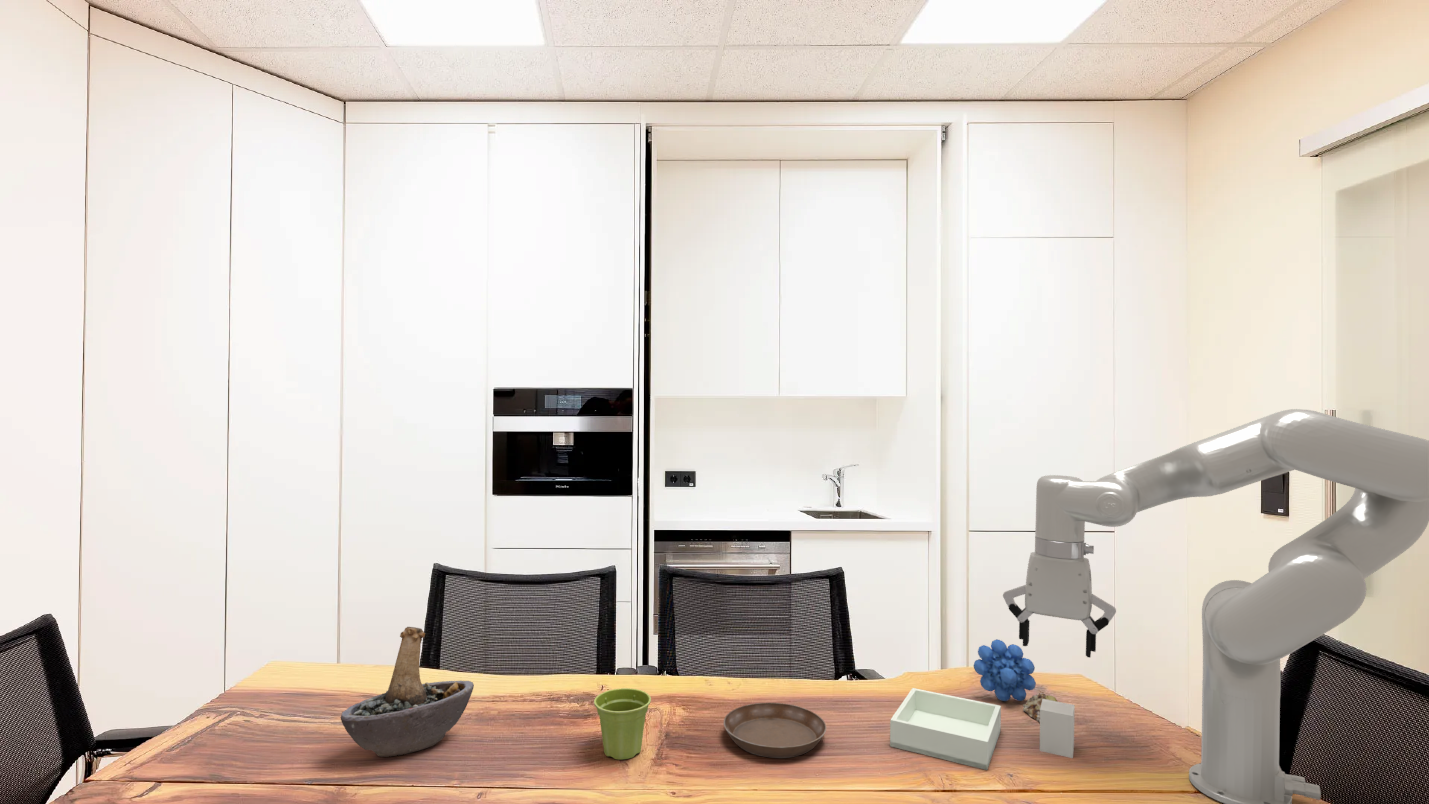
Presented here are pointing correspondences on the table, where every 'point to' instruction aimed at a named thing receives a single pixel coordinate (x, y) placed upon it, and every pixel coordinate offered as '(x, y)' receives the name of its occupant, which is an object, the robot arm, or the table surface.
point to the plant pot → (622, 721)
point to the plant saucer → (774, 729)
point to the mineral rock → (1036, 705)
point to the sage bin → (946, 727)
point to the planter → (407, 707)
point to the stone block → (1057, 728)
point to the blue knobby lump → (1005, 670)
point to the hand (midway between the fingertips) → (1056, 649)
